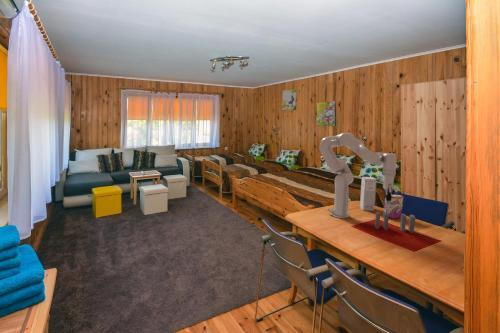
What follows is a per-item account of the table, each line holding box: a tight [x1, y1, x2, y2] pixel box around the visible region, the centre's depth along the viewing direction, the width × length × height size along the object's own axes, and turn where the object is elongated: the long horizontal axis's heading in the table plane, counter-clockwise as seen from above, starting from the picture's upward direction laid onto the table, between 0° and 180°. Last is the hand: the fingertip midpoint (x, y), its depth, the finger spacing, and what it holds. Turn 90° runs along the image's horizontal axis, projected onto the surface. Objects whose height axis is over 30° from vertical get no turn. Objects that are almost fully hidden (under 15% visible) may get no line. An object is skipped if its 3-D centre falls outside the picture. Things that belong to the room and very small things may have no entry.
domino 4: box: [399, 213, 407, 233], centre depth 183 cm, size 2×5×10 cm, turn 163°
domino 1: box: [374, 211, 381, 230], centre depth 187 cm, size 2×5×10 cm, turn 163°
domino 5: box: [408, 214, 416, 233], centre depth 181 cm, size 2×5×10 cm, turn 162°
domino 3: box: [382, 211, 390, 231], centre depth 186 cm, size 2×5×10 cm, turn 163°
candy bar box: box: [382, 194, 404, 219], centre depth 206 cm, size 11×5×16 cm, turn 84°
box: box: [359, 176, 378, 212], centre depth 225 cm, size 8×8×25 cm
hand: (387, 199), depth 188 cm, fingers closed on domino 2, 4 cm apart
